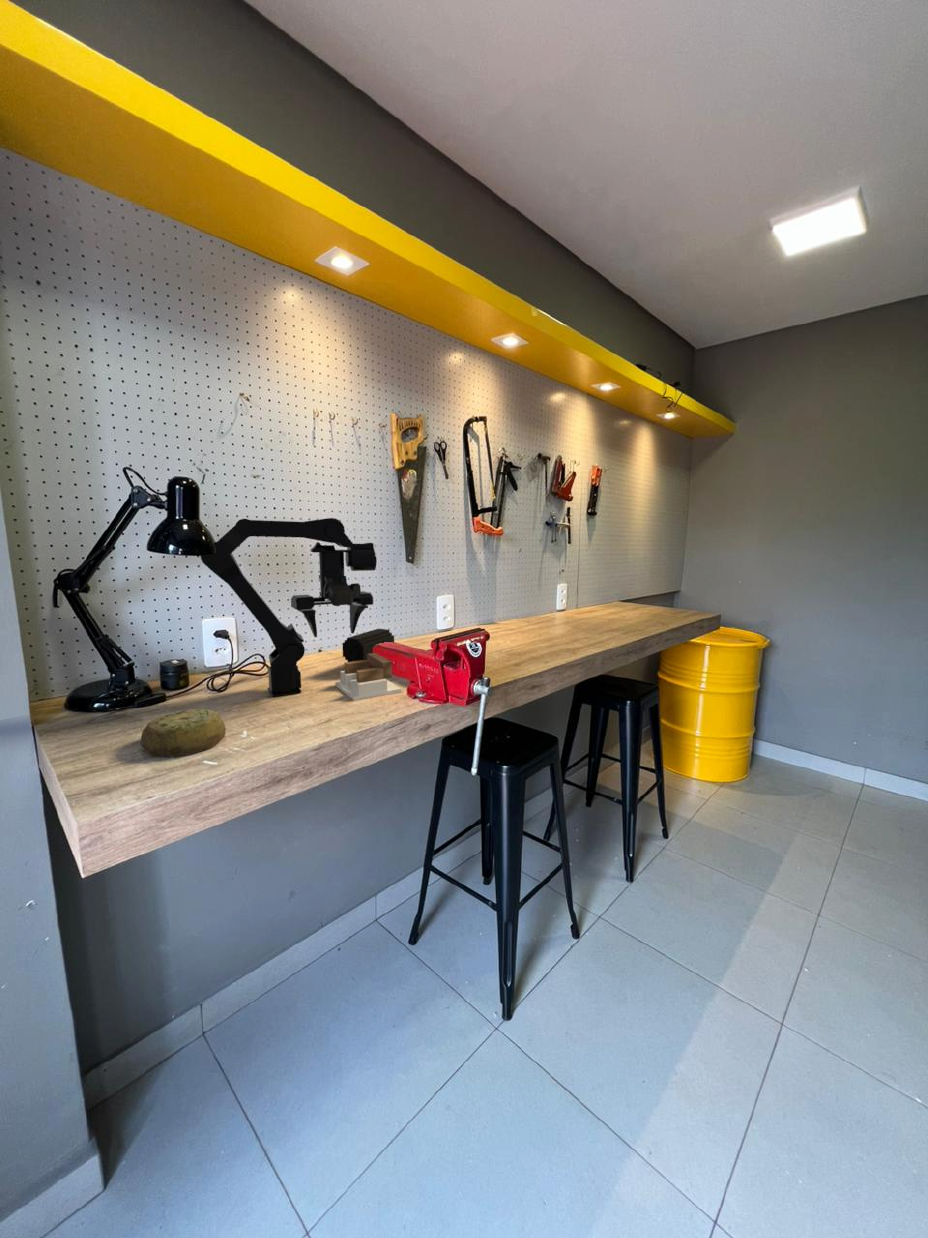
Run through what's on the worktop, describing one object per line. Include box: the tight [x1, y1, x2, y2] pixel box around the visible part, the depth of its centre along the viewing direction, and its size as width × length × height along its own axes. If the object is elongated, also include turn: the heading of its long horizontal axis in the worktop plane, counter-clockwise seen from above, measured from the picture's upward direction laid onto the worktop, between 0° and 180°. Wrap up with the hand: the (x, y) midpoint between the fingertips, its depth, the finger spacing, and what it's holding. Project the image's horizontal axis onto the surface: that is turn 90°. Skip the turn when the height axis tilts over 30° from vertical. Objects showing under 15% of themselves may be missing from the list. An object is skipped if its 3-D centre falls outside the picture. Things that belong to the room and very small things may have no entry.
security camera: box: [341, 628, 395, 662], centre depth 139 cm, size 7×18×10 cm, turn 155°
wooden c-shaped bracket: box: [344, 653, 393, 683], centre depth 120 cm, size 8×10×4 cm
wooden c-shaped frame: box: [334, 670, 402, 701], centre depth 121 cm, size 12×13×4 cm
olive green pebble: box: [140, 708, 226, 757], centre depth 90 cm, size 14×13×5 cm
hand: (334, 635), depth 121 cm, fingers open, 9 cm apart
